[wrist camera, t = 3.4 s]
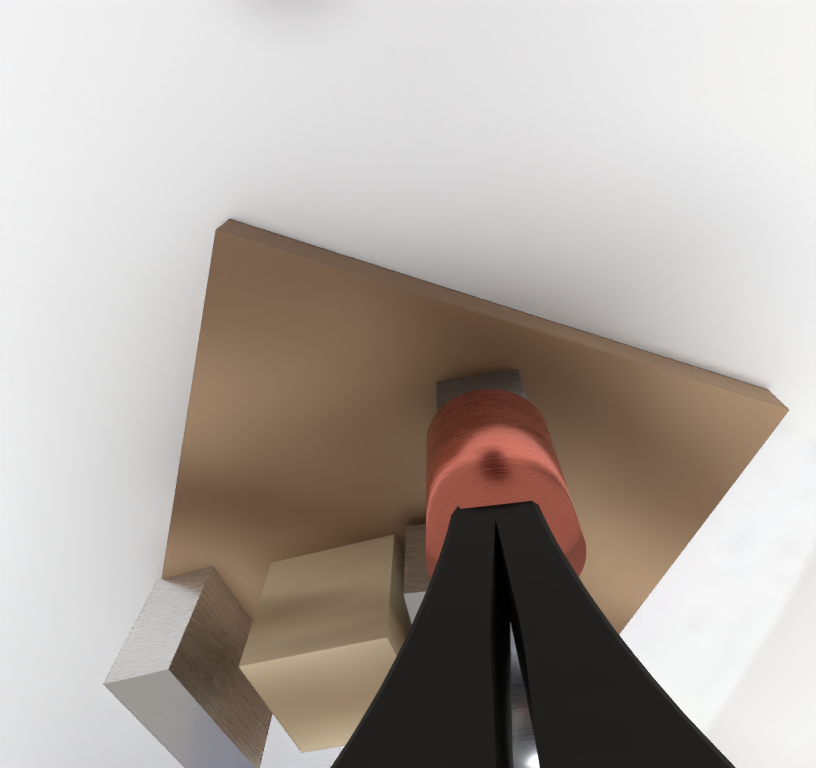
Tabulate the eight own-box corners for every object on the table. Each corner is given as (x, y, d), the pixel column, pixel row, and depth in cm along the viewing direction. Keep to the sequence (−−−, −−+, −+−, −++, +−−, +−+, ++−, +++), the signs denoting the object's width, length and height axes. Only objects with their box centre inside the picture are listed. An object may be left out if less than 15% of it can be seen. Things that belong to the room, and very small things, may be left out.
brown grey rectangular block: (284, 664, 20) (258, 772, 17) (233, 675, 21) (199, 782, 17) (212, 565, 18) (168, 669, 15) (157, 580, 18) (103, 684, 15)
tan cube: (434, 622, 19) (435, 730, 16) (321, 645, 20) (301, 752, 17) (394, 534, 17) (386, 637, 14) (271, 562, 18) (238, 666, 15)
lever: (584, 711, 20) (627, 887, 16) (455, 721, 21) (462, 895, 17) (558, 347, 14) (621, 481, 9) (369, 377, 14) (342, 517, 10)
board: (519, 735, 23) (522, 761, 23) (157, 655, 22) (146, 680, 21) (769, 390, 15) (789, 410, 15) (229, 219, 14) (215, 229, 13)
